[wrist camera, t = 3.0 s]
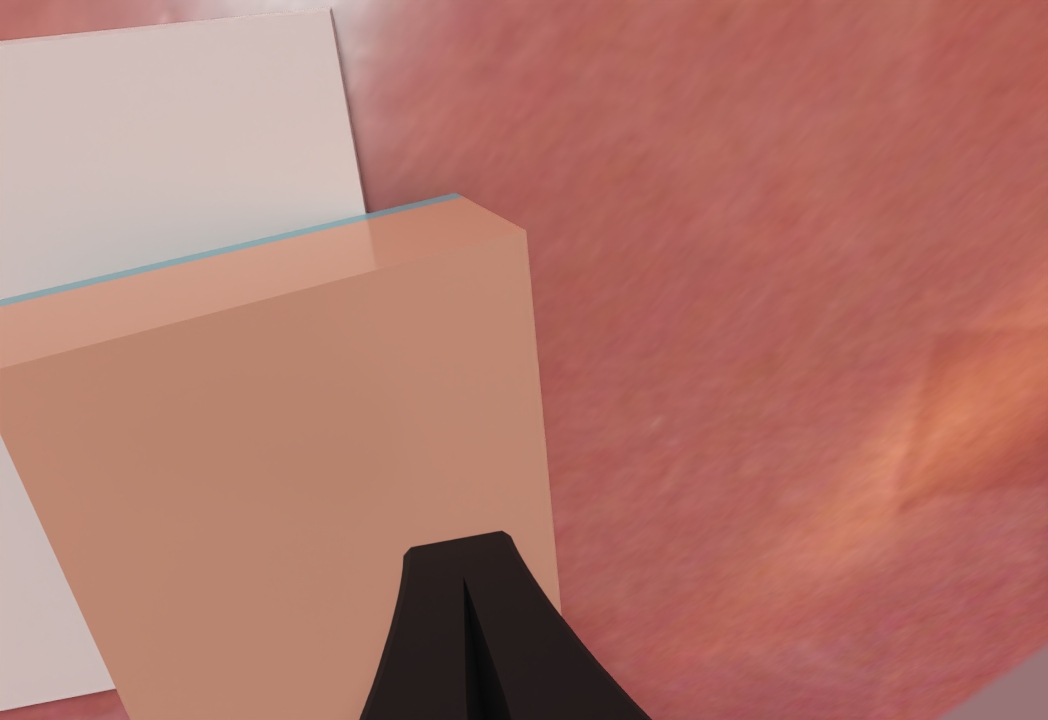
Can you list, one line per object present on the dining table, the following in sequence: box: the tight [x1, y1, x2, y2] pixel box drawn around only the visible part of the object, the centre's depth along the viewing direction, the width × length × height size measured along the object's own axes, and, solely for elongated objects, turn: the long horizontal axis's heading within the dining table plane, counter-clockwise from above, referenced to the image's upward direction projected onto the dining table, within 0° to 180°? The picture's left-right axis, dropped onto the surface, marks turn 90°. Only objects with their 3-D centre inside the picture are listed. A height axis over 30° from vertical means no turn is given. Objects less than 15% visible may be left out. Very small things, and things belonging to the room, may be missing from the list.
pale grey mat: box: [0, 7, 368, 711], centre depth 14 cm, size 11×12×1 cm
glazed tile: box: [0, 193, 561, 720], centre depth 13 cm, size 2×8×7 cm
